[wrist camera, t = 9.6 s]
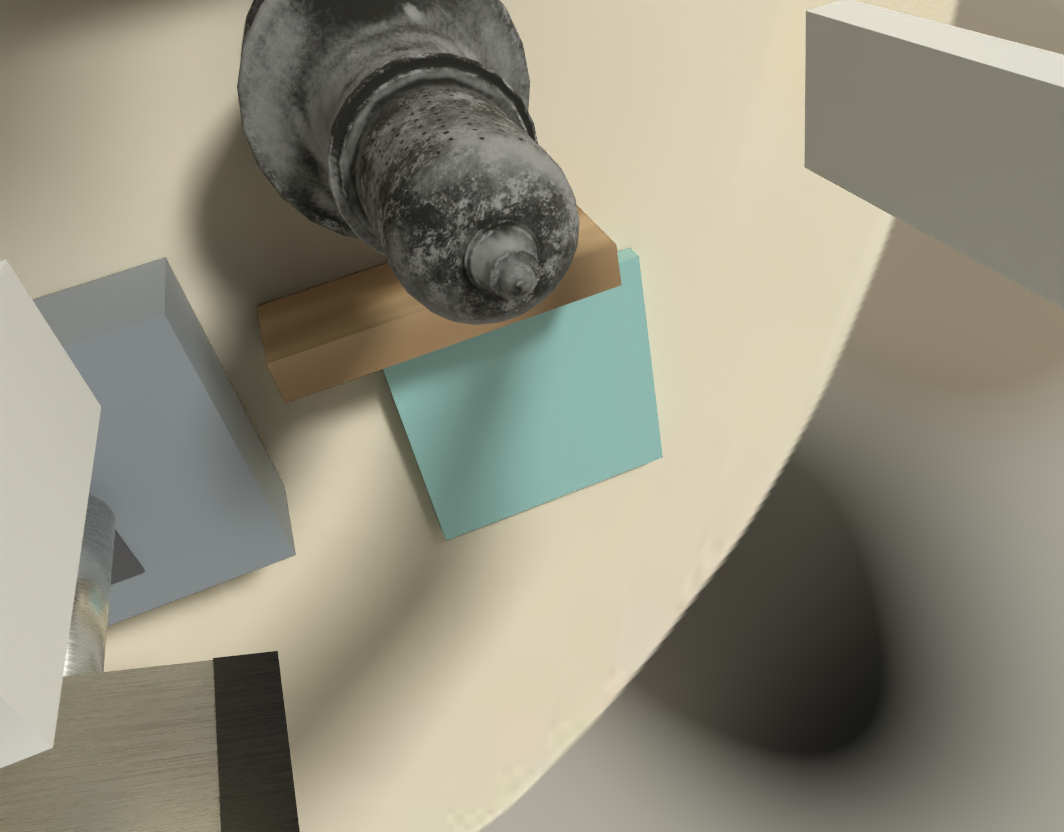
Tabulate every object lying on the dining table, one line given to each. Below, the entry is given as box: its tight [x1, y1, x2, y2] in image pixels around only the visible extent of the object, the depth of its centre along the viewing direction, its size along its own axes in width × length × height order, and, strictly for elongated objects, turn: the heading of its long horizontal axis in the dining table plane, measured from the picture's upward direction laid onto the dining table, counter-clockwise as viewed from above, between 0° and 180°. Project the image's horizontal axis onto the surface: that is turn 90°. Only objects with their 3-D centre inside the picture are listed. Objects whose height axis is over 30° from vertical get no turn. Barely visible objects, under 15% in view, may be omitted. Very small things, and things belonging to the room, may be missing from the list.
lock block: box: [33, 258, 296, 626], centre depth 22 cm, size 8×8×3 cm
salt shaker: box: [237, 0, 580, 325], centre depth 15 cm, size 6×6×12 cm
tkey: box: [0, 495, 299, 832], centre depth 16 cm, size 8×2×11 cm, turn 79°
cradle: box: [257, 206, 622, 403], centre depth 19 cm, size 12×9×3 cm
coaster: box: [383, 248, 663, 541], centre depth 27 cm, size 8×8×1 cm
